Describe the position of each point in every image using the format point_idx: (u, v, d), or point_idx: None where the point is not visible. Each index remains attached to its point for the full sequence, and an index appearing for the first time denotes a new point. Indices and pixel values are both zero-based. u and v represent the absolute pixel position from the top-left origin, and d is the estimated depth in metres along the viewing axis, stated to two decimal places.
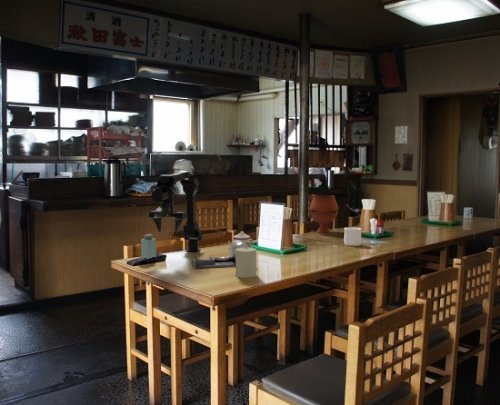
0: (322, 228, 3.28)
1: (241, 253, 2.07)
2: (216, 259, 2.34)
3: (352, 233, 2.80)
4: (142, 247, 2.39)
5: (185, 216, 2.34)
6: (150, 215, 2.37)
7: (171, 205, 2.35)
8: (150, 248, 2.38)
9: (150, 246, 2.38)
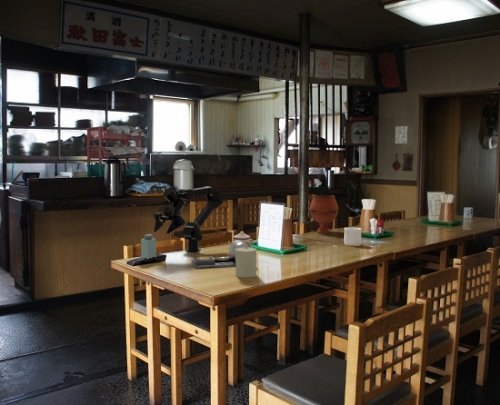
0: (322, 228, 3.28)
1: (241, 253, 2.07)
2: (216, 259, 2.34)
3: (352, 233, 2.80)
4: (142, 247, 2.39)
5: (182, 222, 2.44)
6: (155, 214, 2.52)
7: (176, 211, 2.50)
8: (150, 248, 2.38)
9: (150, 246, 2.38)
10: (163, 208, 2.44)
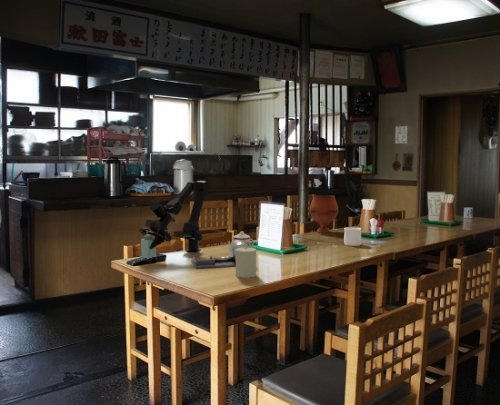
0: (322, 228, 3.28)
1: (241, 253, 2.07)
2: (216, 259, 2.34)
3: (352, 233, 2.80)
4: (142, 247, 2.39)
5: (168, 237, 2.38)
6: (141, 229, 2.46)
7: (163, 226, 2.43)
8: None
9: (150, 245, 2.37)
10: (149, 223, 2.38)
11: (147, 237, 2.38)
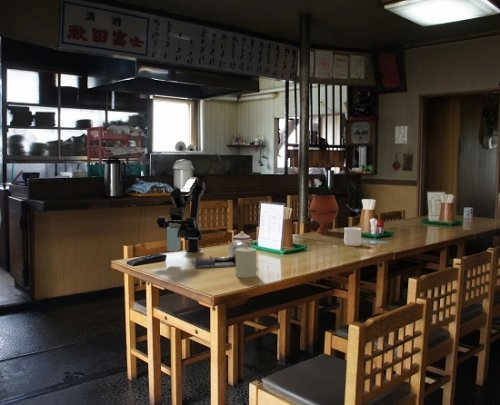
0: (322, 228, 3.28)
1: (241, 253, 2.07)
2: (216, 259, 2.34)
3: (352, 233, 2.80)
4: (168, 236, 2.30)
5: (195, 224, 2.35)
6: (159, 218, 2.35)
7: (183, 213, 2.38)
8: (177, 236, 2.31)
9: (177, 234, 2.31)
10: (175, 211, 2.30)
11: (174, 225, 2.30)
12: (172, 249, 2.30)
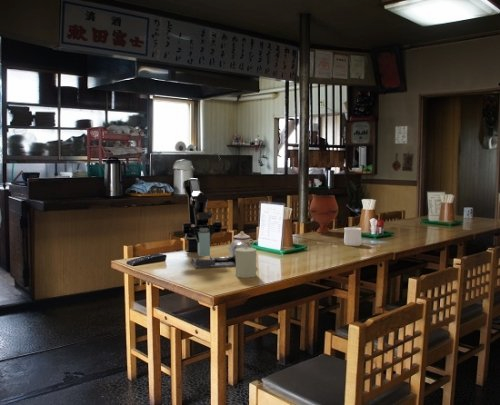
0: (322, 228, 3.28)
1: (241, 253, 2.07)
2: (216, 259, 2.34)
3: (352, 233, 2.80)
4: (201, 241, 2.29)
5: None
6: (186, 224, 2.31)
7: None
8: None
9: None
10: (206, 216, 2.31)
11: (206, 230, 2.30)
12: (205, 254, 2.30)
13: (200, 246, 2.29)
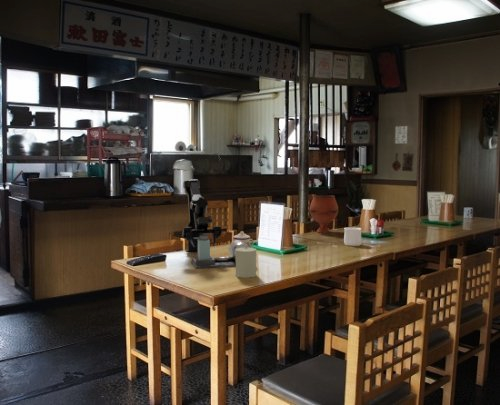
0: (322, 228, 3.28)
1: (241, 253, 2.07)
2: (216, 259, 2.34)
3: (352, 233, 2.80)
4: (201, 249, 2.29)
5: None
6: (186, 229, 2.32)
7: None
8: None
9: None
10: (206, 220, 2.31)
11: (206, 237, 2.31)
12: None
13: (200, 254, 2.30)
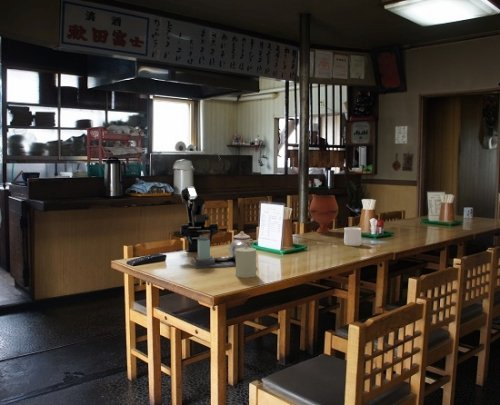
0: (322, 228, 3.28)
1: (241, 253, 2.07)
2: (216, 259, 2.34)
3: (352, 233, 2.80)
4: (201, 249, 2.29)
5: None
6: (184, 226, 2.40)
7: None
8: None
9: None
10: (203, 218, 2.40)
11: (206, 237, 2.31)
12: None
13: (200, 254, 2.30)
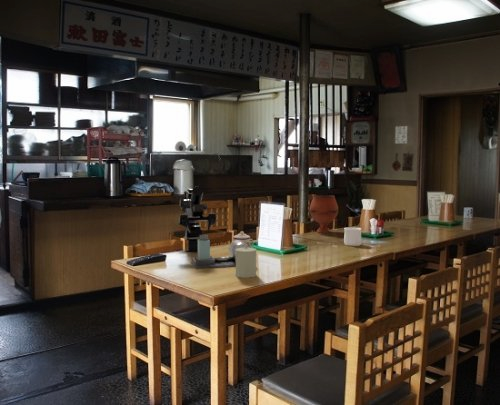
0: (322, 228, 3.28)
1: (241, 253, 2.07)
2: (216, 259, 2.34)
3: (352, 233, 2.80)
4: (201, 249, 2.29)
5: None
6: (183, 216, 2.45)
7: None
8: None
9: None
10: (201, 207, 2.45)
11: (206, 237, 2.31)
12: None
13: (200, 254, 2.30)
